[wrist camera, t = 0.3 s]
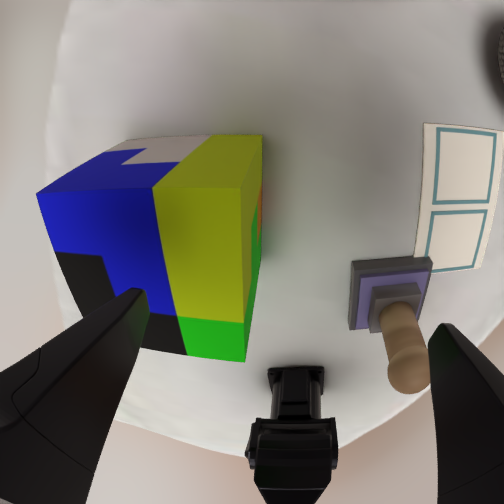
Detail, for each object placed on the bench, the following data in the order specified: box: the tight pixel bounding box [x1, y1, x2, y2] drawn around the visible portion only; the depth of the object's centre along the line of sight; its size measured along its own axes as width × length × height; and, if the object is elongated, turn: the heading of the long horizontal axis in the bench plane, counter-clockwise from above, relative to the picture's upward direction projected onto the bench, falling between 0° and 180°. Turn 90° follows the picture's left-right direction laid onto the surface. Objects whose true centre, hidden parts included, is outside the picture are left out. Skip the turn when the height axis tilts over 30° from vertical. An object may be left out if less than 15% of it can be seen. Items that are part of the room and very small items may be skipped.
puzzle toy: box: [36, 135, 262, 362], centre depth 17 cm, size 10×10×10 cm
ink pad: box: [348, 256, 433, 330], centre depth 23 cm, size 7×7×2 cm
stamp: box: [367, 282, 430, 394], centre depth 19 cm, size 4×4×9 cm
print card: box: [413, 123, 504, 274], centre depth 19 cm, size 13×8×1 cm, turn 9°
